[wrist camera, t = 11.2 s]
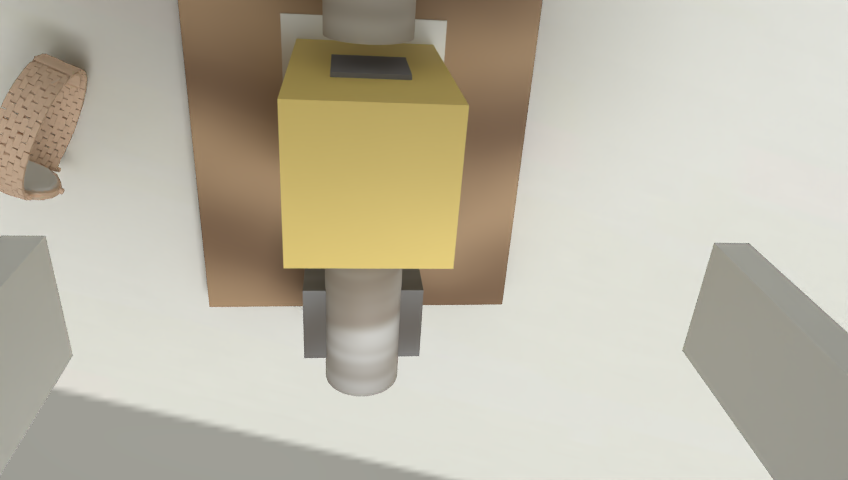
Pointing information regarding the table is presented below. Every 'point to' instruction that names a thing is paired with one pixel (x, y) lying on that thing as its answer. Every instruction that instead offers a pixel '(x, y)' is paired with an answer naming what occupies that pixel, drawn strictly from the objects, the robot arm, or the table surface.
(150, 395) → the table surface
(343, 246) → the yellow rectangular block
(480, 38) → the shaft base
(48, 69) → the rose gold watch bracelet
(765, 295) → the robot arm
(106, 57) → the table surface
